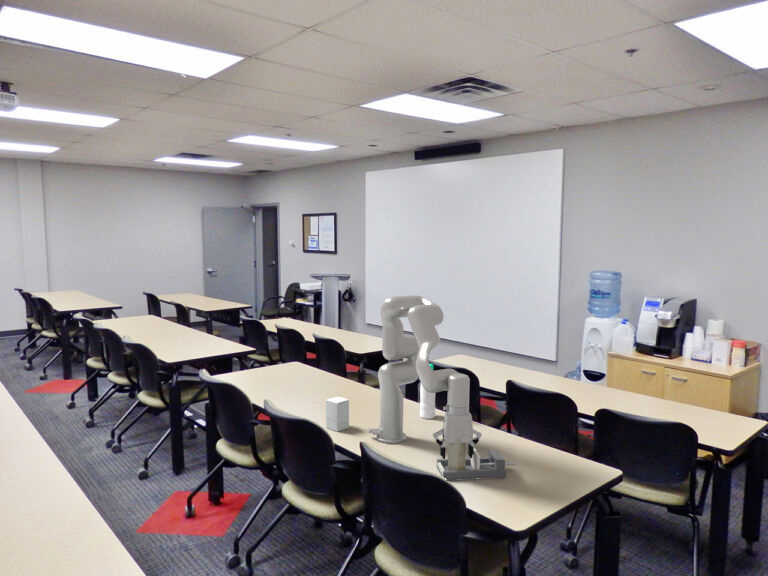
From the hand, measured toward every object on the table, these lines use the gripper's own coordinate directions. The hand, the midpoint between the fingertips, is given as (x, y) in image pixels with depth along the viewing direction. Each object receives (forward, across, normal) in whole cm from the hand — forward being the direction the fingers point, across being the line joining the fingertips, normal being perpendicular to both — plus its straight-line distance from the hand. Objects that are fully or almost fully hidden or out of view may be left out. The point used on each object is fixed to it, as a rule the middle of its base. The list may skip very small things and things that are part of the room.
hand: (456, 456), depth 181 cm
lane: (+6, +5, 0) cm, 8 cm away
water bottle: (+6, +1, +59) cm, 59 cm away
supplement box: (+6, -41, +48) cm, 63 cm away
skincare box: (+5, 0, 0) cm, 5 cm away
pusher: (+4, +14, 0) cm, 14 cm away
